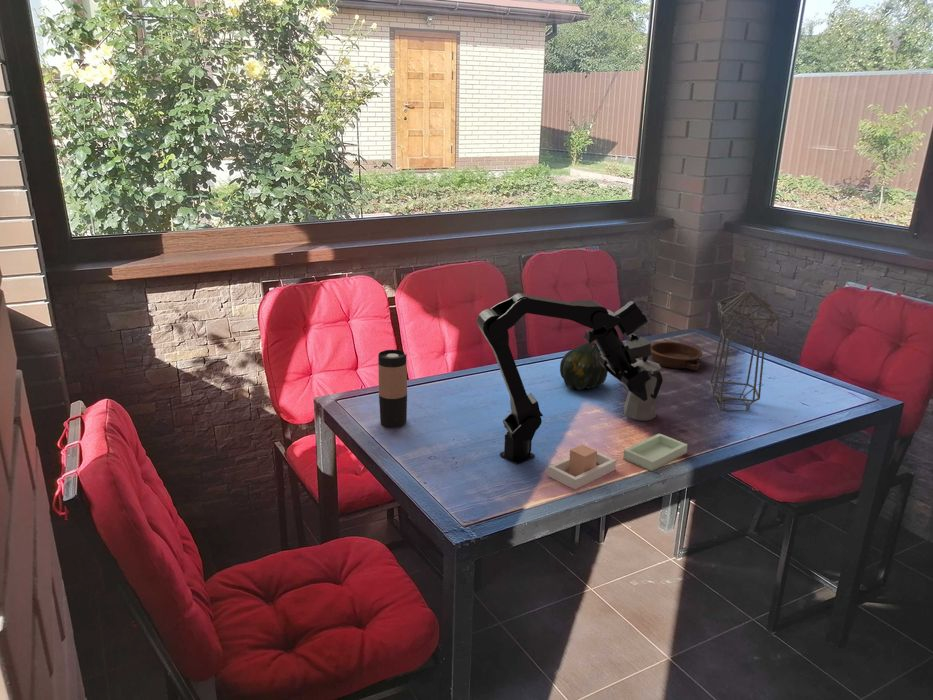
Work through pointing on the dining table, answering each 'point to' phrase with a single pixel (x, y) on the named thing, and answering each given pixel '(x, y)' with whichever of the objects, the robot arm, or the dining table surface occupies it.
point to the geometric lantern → (771, 316)
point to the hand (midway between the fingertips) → (637, 393)
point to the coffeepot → (646, 409)
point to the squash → (583, 367)
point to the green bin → (655, 452)
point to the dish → (676, 355)
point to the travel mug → (392, 388)
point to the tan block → (582, 460)
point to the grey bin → (575, 482)
